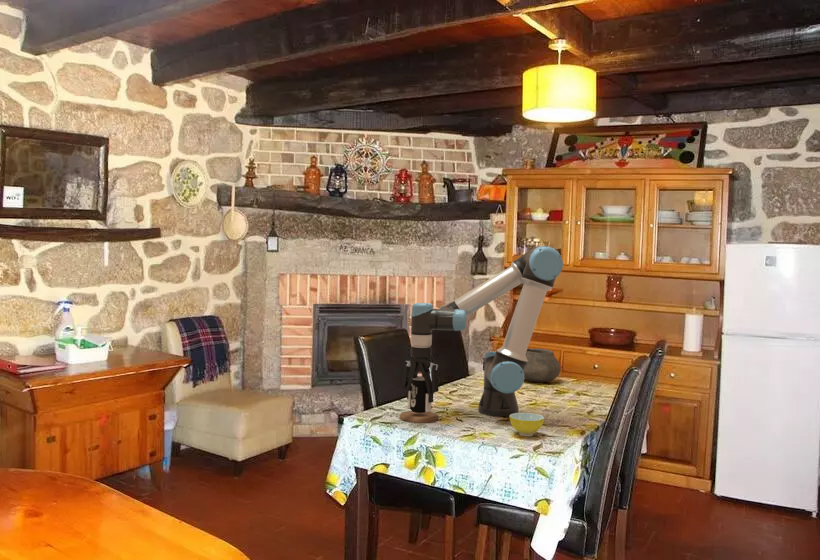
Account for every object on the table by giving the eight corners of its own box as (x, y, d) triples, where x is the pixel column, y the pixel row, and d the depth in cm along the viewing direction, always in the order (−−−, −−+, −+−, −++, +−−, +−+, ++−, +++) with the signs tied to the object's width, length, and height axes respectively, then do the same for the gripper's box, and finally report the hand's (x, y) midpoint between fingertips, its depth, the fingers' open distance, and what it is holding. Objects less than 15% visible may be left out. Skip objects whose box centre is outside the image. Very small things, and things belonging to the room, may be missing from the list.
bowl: (505, 436, 230) (506, 418, 230) (513, 429, 241) (513, 411, 241) (540, 440, 226) (540, 421, 226) (546, 432, 237) (546, 414, 237)
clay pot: (564, 380, 340) (565, 349, 340) (554, 387, 321) (555, 354, 320) (520, 375, 349) (521, 345, 349) (508, 382, 330) (509, 350, 329)
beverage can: (426, 413, 249) (427, 380, 248) (408, 412, 250) (409, 379, 250) (430, 410, 255) (430, 377, 255) (412, 408, 256) (413, 376, 256)
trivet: (445, 417, 255) (445, 414, 255) (425, 425, 243) (425, 421, 243) (413, 412, 262) (413, 408, 262) (392, 419, 251) (392, 415, 251)
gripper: (450, 347, 250) (448, 412, 251) (404, 342, 260) (402, 404, 261) (439, 349, 243) (437, 415, 244) (392, 344, 254) (391, 408, 255)
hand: (419, 409), depth 253 cm, fingers closed on beverage can, 6 cm apart
